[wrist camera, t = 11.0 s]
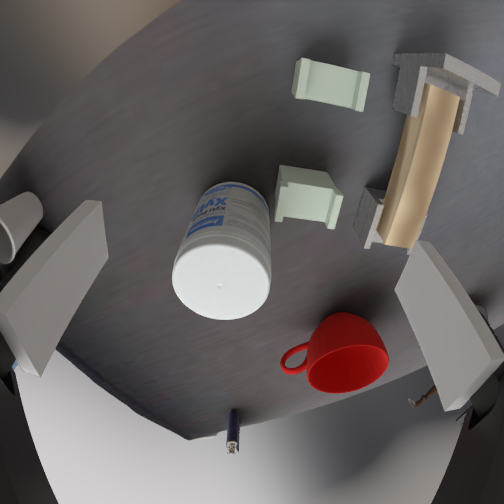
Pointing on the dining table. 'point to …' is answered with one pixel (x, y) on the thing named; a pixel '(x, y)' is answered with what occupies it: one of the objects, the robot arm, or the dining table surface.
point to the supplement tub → (225, 254)
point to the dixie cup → (17, 223)
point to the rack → (306, 180)
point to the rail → (417, 167)
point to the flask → (233, 432)
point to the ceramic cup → (341, 354)
